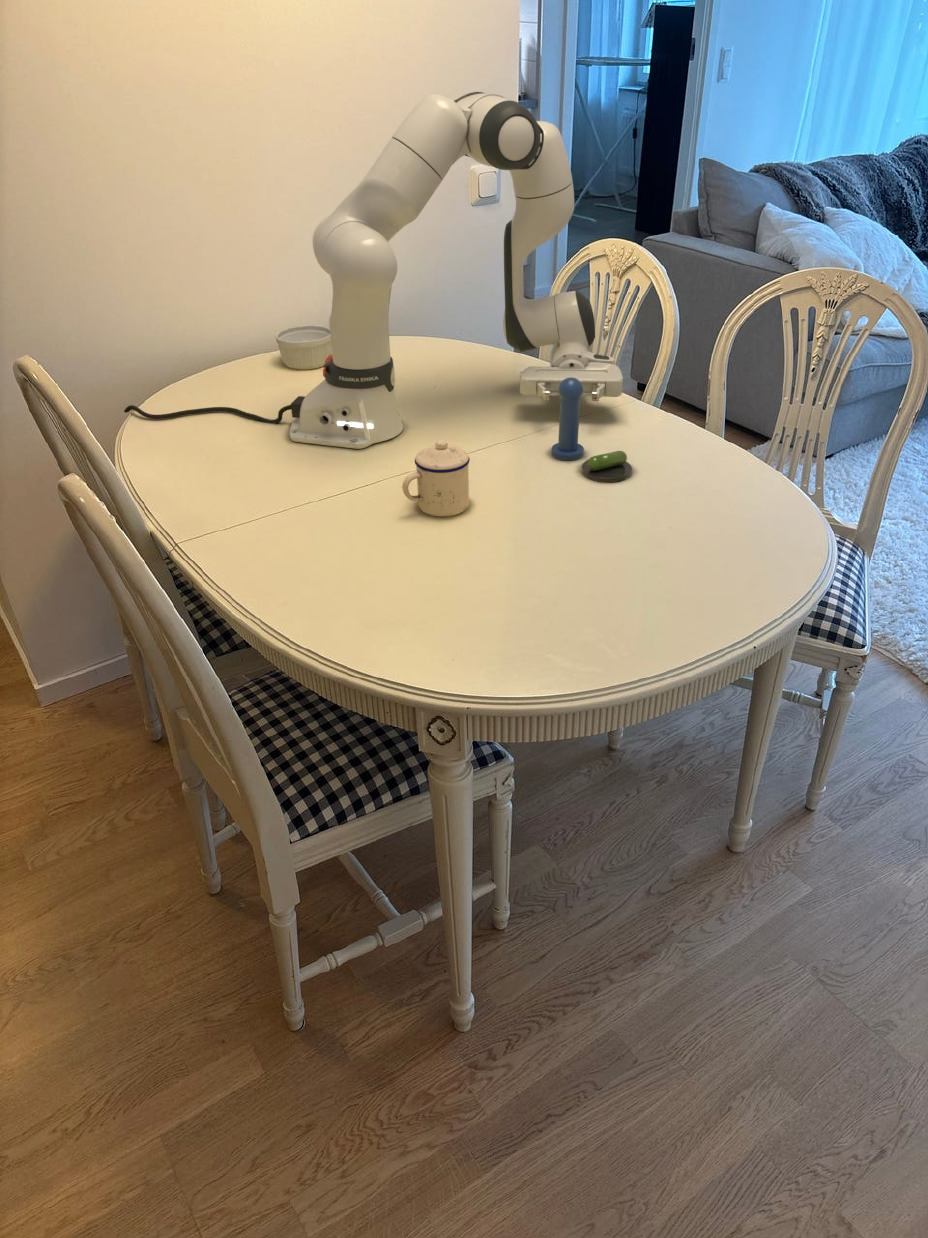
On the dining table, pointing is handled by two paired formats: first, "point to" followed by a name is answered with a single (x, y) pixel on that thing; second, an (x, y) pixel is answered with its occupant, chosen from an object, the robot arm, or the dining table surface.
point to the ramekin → (304, 346)
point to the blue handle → (569, 421)
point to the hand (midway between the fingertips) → (570, 396)
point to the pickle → (607, 467)
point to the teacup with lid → (441, 480)
